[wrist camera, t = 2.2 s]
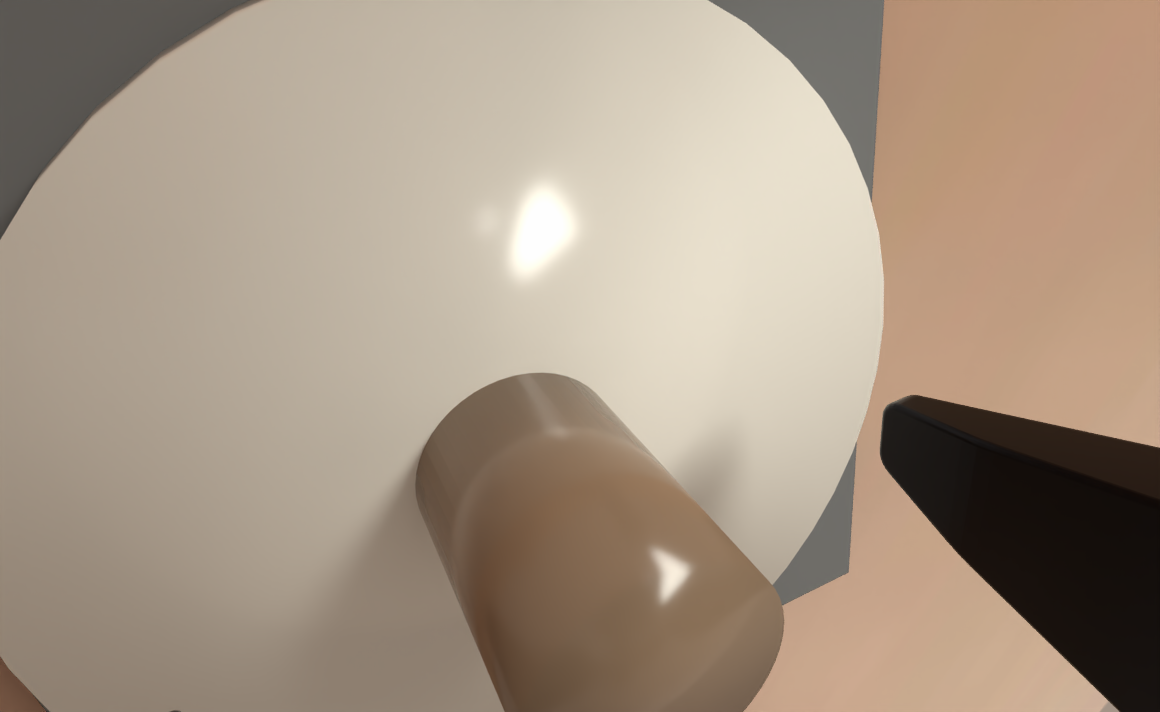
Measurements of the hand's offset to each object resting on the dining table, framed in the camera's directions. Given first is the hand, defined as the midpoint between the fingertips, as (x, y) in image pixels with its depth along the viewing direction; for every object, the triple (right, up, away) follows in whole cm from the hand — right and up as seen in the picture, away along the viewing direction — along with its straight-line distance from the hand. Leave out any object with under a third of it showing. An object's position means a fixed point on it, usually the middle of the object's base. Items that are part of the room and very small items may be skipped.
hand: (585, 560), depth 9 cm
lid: (-1, +1, +3) cm, 3 cm away
